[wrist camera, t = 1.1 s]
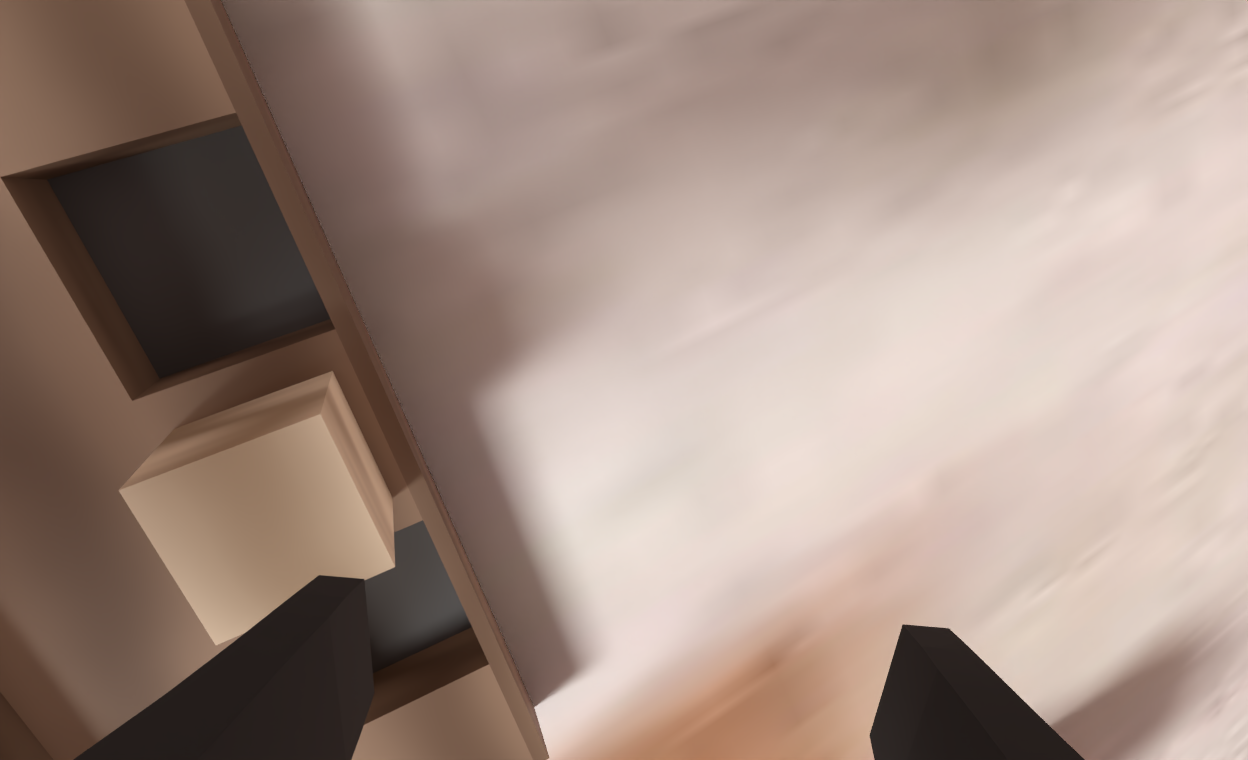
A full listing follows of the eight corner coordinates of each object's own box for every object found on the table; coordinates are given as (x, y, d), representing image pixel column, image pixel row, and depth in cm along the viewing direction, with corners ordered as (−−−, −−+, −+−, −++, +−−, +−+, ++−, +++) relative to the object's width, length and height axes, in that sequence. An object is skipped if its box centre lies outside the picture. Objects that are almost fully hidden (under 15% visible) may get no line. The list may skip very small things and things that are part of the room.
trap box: (200, 877, 23) (166, 1005, 19) (-410, 59, 14) (-680, 12, 11) (534, 708, 26) (559, 792, 22) (190, -69, 17) (138, -143, 13)
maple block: (248, 558, 19) (216, 645, 15) (173, 428, 17) (118, 489, 14) (392, 498, 20) (394, 566, 16) (332, 370, 18) (320, 413, 15)
